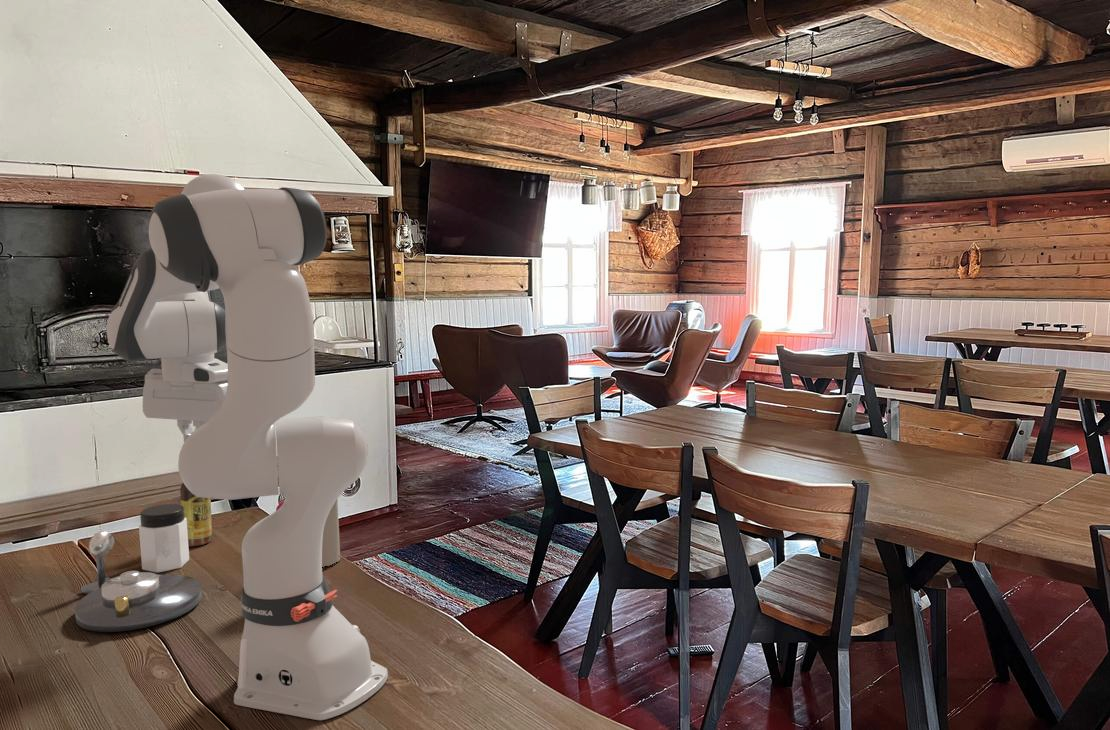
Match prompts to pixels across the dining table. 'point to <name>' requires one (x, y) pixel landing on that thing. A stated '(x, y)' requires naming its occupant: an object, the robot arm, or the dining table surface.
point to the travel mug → (331, 538)
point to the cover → (131, 588)
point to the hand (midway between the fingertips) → (193, 443)
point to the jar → (163, 538)
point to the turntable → (139, 606)
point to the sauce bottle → (196, 517)
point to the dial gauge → (99, 558)
